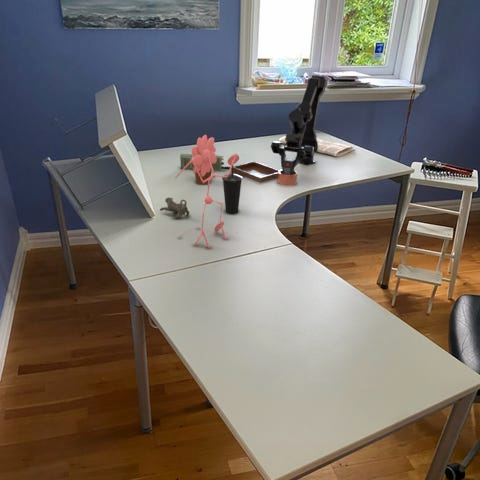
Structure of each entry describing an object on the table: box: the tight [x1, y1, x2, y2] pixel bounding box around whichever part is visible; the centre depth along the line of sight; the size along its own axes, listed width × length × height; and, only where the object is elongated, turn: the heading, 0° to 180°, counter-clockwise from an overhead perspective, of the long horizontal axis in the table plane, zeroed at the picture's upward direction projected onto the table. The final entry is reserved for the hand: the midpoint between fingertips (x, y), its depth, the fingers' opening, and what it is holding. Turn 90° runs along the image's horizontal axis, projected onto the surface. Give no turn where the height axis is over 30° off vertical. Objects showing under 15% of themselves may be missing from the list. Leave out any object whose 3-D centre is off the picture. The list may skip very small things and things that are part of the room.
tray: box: [233, 160, 281, 184], centre depth 227 cm, size 14×19×3 cm
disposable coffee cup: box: [192, 155, 212, 185], centre depth 215 cm, size 10×10×12 cm
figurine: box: [174, 134, 240, 249], centre depth 162 cm, size 15×26×35 cm, turn 142°
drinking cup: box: [221, 165, 243, 215], centre depth 186 cm, size 8×8×20 cm
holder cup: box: [277, 169, 298, 186], centre depth 218 cm, size 8×8×5 cm
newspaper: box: [277, 135, 355, 157], centre depth 266 cm, size 37×19×3 cm, turn 50°
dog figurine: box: [159, 197, 190, 220], centre depth 186 cm, size 12×6×7 cm, turn 53°
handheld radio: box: [179, 153, 230, 172], centre depth 230 cm, size 7×3×25 cm
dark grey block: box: [281, 158, 295, 175], centre depth 216 cm, size 3×5×9 cm, turn 68°
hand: (287, 167), depth 214 cm, fingers closed on dark grey block, 5 cm apart
